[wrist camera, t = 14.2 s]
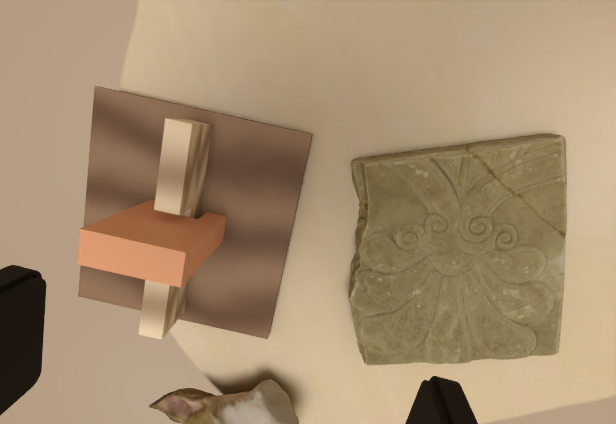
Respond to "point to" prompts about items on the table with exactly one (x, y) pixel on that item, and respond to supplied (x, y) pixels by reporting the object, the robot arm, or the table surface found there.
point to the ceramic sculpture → (229, 406)
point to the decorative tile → (460, 252)
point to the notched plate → (151, 243)
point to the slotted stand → (196, 206)
